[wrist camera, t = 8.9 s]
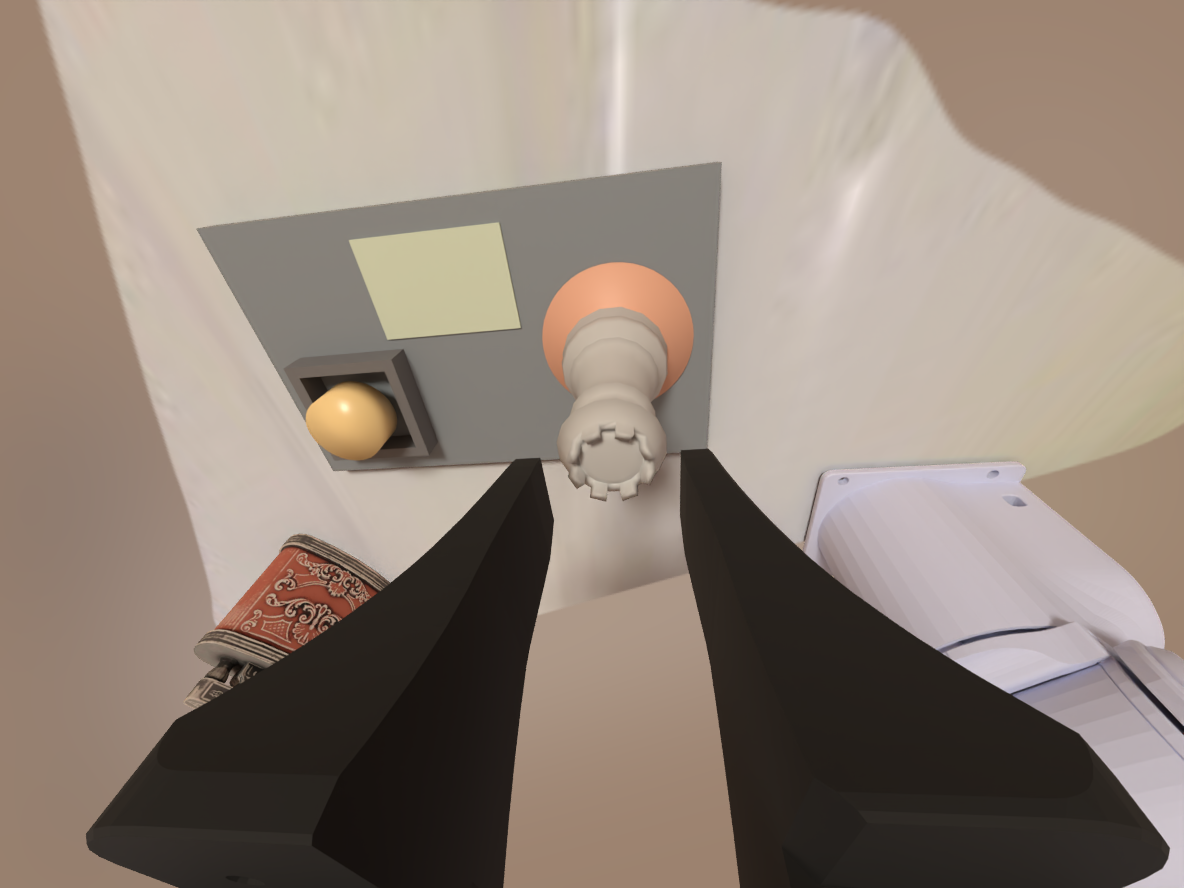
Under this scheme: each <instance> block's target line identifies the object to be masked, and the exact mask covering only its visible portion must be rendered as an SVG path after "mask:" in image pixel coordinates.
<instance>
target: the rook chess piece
mask: <svg viewBox="0 0 1184 888" xmlns="http://www.w3.org/2000/svg"><path fill="white" fill-rule="evenodd" d="M562 355H563V360H562V368H563V374H564V380H565V384H566V386H567V387H568V389H569V391H570V392H571V394H572V395H573V397H574V398H575V400H576V401H575V402H574V403H573V407H572V410H571V413H570V416H569V417H568V418H567V419H566V421H565V422H564V423H563V424H562V425H561V429H560V432H559V435H558V439H557V447H558V453H559V458H560V461H561V462H562V463H563V465H564V466H565V467H566V469H567V470H568V472H569V475H568V477H569V479H570V480H571V482H572V483H573V484H574V486H575V487H576V488H577V489H578V488H579V487H581V486H582V485H584V484H586V485H588V486H590V487H591V494H590V498H594V499H598V500H602V501H606V499H607V491H620V494H621V497H622V500H623V501H624V500H627V499H629V498H632V497H635V496H638V485H639V484H641V483H646V484H648V485H650V484H651V482H652V480H653V478H654V476H655V474H656V472H657V471H658V470H659V468H660V466H661V464H662V462H663V460H664V458H665V456H666V454H667V442H666V434H665V432H664V430H663V428H662V426H661V425H660V423H659V421H658V419H657V418H656V416H655V410H654V408H653V406H652V404H651V402H652V401H653V400H654V399H655V398H656V397H657V396H658V395H659V393H660V390H661V388H662V386H663V383H664V381H665V379H666V376H667V374H668V370H667V344H666V342H665V340H664V338H663V336H662V334H661V332H660V329H659V327H658V326H656V325H655V324H654V323H653V322H652V321H651V320H649V319H648V318H647V317H646V316H645V315H644V314H642V313H640V312H636V311H633V310H630V309H627V308H623V307H615V308H604V309H598V310H597V311H595V312H593V313H591V314H589V315H587V316H585V317H583V318H582V319H580V320H579V321H578V323H577V324H576V325H575V326H574V328H573V329H572V330H571V331H570V333H569V334H568V335H567V339H566V343H565V347H564V350H563V354H562Z"/></svg>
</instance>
